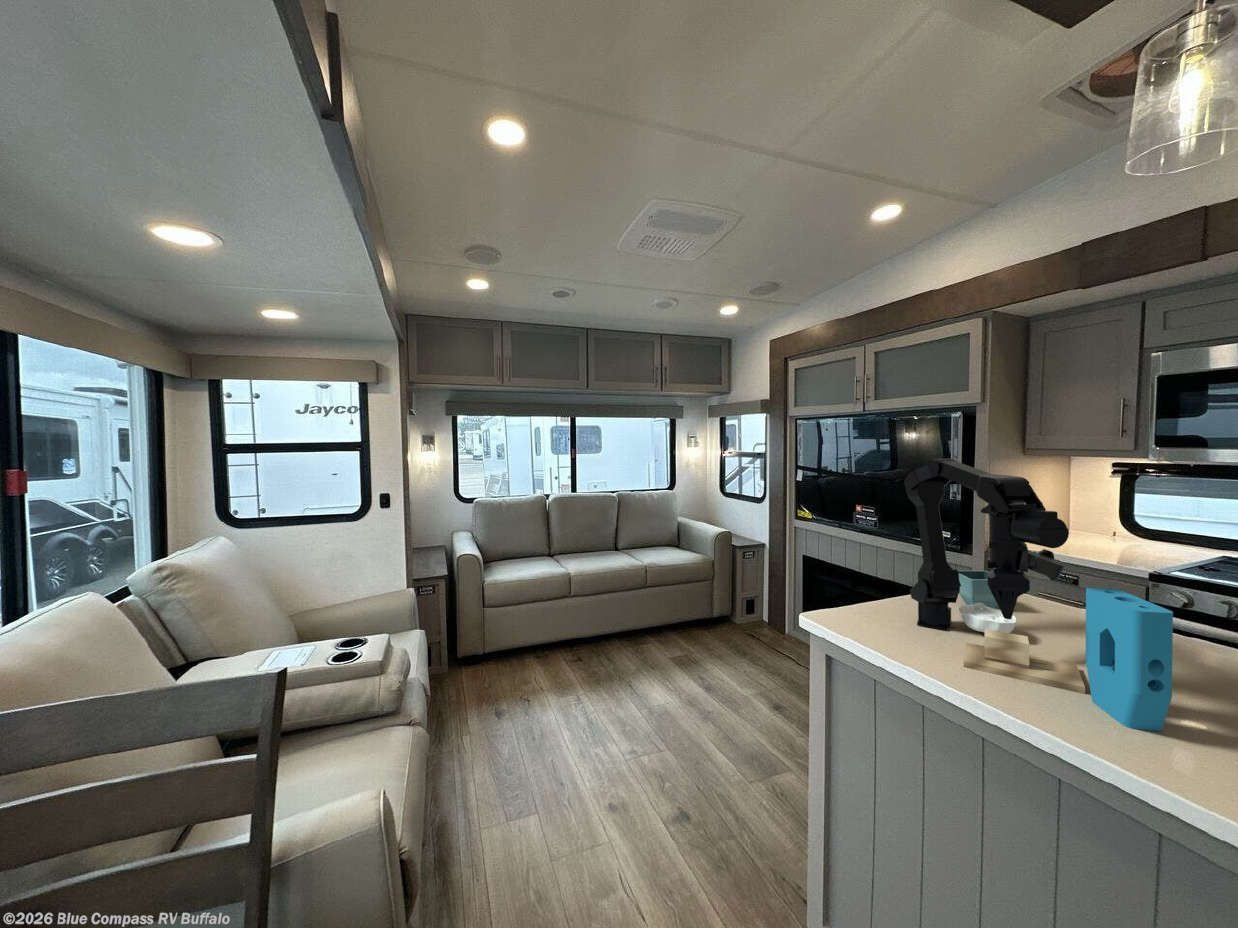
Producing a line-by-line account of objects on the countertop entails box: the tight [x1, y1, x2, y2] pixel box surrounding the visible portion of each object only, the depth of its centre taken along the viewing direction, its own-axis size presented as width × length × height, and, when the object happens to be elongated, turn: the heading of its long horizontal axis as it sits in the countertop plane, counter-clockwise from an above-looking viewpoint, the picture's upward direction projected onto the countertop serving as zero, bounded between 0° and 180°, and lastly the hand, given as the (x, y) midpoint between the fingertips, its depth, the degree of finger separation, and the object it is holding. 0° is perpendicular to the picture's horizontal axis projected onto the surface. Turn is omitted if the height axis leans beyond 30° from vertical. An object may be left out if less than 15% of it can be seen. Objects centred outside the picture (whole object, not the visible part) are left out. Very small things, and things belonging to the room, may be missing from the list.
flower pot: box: [957, 570, 998, 609], centre depth 129 cm, size 9×9×9 cm
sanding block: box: [984, 629, 1030, 669], centre depth 96 cm, size 7×4×5 cm, turn 51°
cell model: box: [958, 603, 1017, 633], centre depth 112 cm, size 10×12×7 cm
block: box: [1085, 587, 1174, 732], centre depth 78 cm, size 12×5×20 cm, turn 164°
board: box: [963, 642, 1086, 694], centre depth 95 cm, size 18×11×1 cm, turn 51°
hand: (1007, 611), depth 95 cm, fingers open, 9 cm apart
